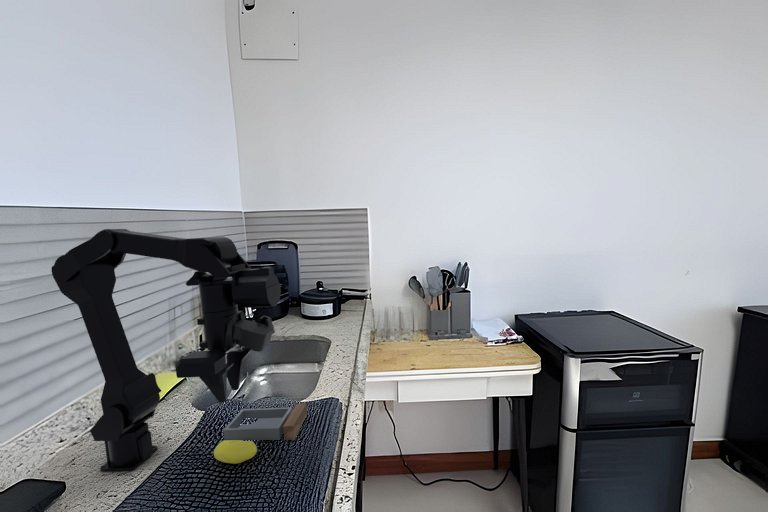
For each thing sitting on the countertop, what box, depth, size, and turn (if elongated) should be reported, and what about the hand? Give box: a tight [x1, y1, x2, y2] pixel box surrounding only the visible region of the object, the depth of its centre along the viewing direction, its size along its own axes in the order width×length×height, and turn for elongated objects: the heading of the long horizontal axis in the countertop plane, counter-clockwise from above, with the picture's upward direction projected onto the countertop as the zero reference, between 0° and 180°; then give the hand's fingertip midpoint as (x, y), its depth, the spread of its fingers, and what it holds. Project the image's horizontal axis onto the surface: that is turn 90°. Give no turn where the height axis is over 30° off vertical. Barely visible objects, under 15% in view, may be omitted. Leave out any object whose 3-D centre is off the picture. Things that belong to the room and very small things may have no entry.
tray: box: [223, 406, 294, 441], centre depth 75 cm, size 11×8×2 cm
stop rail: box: [283, 402, 308, 441], centre depth 74 cm, size 2×9×3 cm, turn 177°
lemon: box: [213, 439, 258, 464], centre depth 65 cm, size 4×8×4 cm, turn 79°
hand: (229, 395), depth 64 cm, fingers open, 4 cm apart
